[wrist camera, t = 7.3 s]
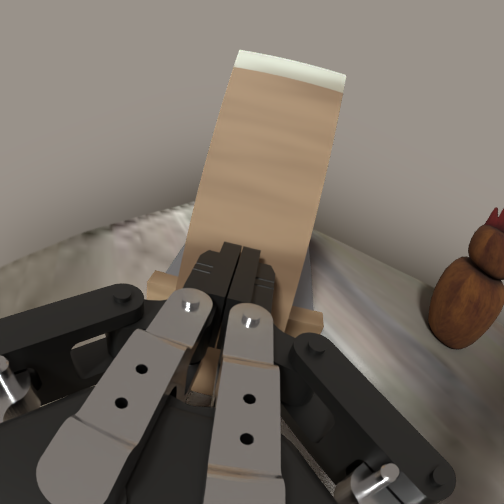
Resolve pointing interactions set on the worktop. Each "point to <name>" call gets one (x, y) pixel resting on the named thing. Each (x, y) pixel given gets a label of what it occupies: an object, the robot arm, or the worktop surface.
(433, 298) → the wooden figurine
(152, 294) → the ledge
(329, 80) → the wooden block
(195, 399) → the worktop surface
